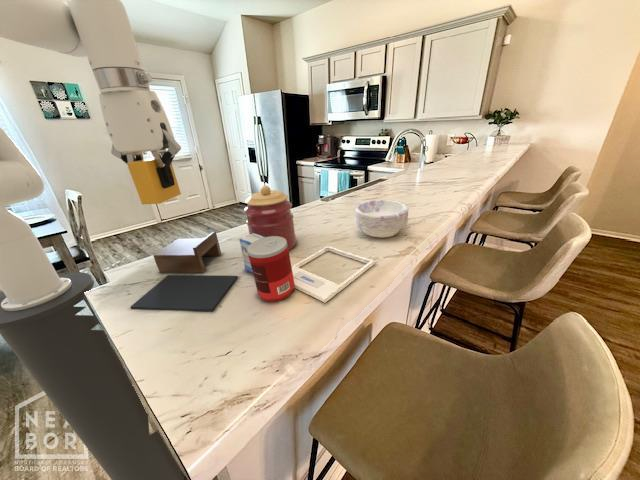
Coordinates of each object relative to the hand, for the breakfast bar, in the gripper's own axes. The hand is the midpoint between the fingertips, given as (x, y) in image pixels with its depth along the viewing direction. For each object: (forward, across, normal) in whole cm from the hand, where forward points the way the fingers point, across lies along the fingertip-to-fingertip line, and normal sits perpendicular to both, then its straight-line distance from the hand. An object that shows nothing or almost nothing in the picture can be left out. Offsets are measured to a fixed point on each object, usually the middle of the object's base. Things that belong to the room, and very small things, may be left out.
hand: (158, 186), depth 54 cm
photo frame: (+23, -33, -3) cm, 40 cm away
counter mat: (+22, -3, +5) cm, 23 cm away
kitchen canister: (+23, -16, -17) cm, 33 cm away
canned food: (+23, -23, +5) cm, 33 cm away
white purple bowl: (+23, -48, -26) cm, 59 cm away
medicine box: (+23, -17, -3) cm, 29 cm away
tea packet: (+3, 0, 0) cm, 3 cm away
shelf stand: (+22, +4, -8) cm, 24 cm away
